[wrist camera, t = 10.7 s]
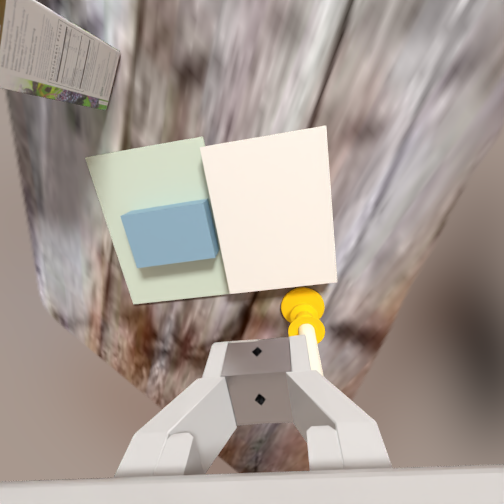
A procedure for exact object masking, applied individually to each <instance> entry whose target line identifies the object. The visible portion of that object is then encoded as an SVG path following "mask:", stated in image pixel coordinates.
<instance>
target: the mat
mask: <svg viewBox="0 0 504 504" xmlns="http://www.w3.org/2000/svg"><path fill="white" fill-rule="evenodd" d="M200 147H205V143H204V138H203V137H197V138H192V139H186V140H180V141H175V142H169V143H163V144H158V145H152V146H146V147H141V148H135V149H130V150H124V151H118V152H113V153H107V154H101V155H96V156H90V157H85V160H86V163H87V166H88V169H89V172H90V175H91V178H92V181H93V184H94V187H95V190H96V193H97V196H98V199H99V202H100V205H101V208H102V211H103V214H104V217H105V220H106V223H107V226H108V229H109V232H110V235H111V238H112V241H113V244H114V247H115V250H116V253H117V256H118V259H119V262H120V265H121V268H122V271H123V274H124V277H125V280H126V283H127V286H128V289H129V292H130V295H131V298H132V301H133V304H141V303H151V302H160V301H169V300H178V299H187V298H196V297H205V296H215V295H224V294H230V291H229V287H228V282H227V277H226V272H225V267H224V262H223V258H222V253H221V248H220V243H219V238H218V233H217V229H216V224H215V219H214V214H213V209H212V204H211V200H210V195H209V190H208V185H207V180H206V175H205V171H204V166H203V161H202V156H201V151H200ZM202 199H208V200H209V205H210V209H211V214H212V218H213V223H214V227H215V232H216V237H217V241H218V246H219V252H218V254H217V256H216V258H210V259H203V260H195V261H188V262H180V263H173V264H165V265H158V266H150V267H143V268H137V267H136V263H135V260H134V257H133V254H132V251H131V248H130V245H129V242H128V239H127V236H126V232H125V229H124V226H123V223H122V220H121V217H120V216H121V215H123V214H125V213H128V212H130V211H133V210H139V209H145V208H152V207H158V206H164V205H170V204H177V203H183V202H189V201H195V200H202Z"/></svg>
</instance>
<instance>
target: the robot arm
mask: <svg viewBox="0 0 504 504" xmlns="http://www.w3.org/2000/svg"><path fill="white" fill-rule="evenodd" d="M262 423H294V425H295V426H296V428H297V429H298V431H299V432H300V433H301V435H302V436H303V438H304V439H305V441H306V442H307V443H308V454H309V465H310V471H290V472H262V473H233V474H205V473H206V472H207V470H208V469H209V468H210V466H211V465H212V463H213V461H214V460H215V459H216V457H217V456H218V454H219V453H220V451H221V450H222V448H223V447H224V446H225V444H226V443H227V441H228V440H229V438H230V437H231V435H232V434H233V432H234V431H235V429H236V428H237V426H238V425H250V424H262ZM0 504H504V464H495V465H494V464H493V465H465V466H440V467H439V466H437V467H411V468H392V465H391V462H390V460H389V457H388V454H387V451H386V449H385V446H384V443H383V440H382V437H381V435H380V432H379V429H378V426H377V423H376V421H374V420H373V419H372V418H371V417H370V416H369V415H368V414H366V413H365V412H364V411H363V410H362V409H361V408H359V407H358V406H357V405H356V404H355V403H354V402H352V401H351V400H350V399H349V398H348V397H347V396H346V395H344V394H343V393H342V392H341V391H340V390H339V389H337V388H336V387H335V386H334V385H333V384H332V383H330V382H329V381H328V380H327V379H326V378H325V377H324V376H322V375H321V374H320V373H319V372H318V371H317V370H311V366H310V360H309V353H308V347H307V341H306V336H305V334H304V335H296V336H290V337H282V338H272V339H261V340H259V339H258V340H243V341H229V342H217V343H214V344H213V345H212V347H211V350H210V354H209V357H208V360H207V363H206V367H205V370H204V373H203V376H202V378H201V379H197V380H195V381H194V382H193V383H192V384H191V385H190V386H189V387H187V388H186V389H185V390H184V391H183V392H182V393H181V394H180V395H178V396H177V397H176V398H175V399H174V400H173V401H172V402H170V403H169V404H168V405H167V406H166V407H165V408H164V409H162V410H161V411H160V412H159V413H158V414H157V415H156V416H155V417H153V418H152V419H151V420H150V421H149V422H148V423H146V424H145V425H144V426H143V427H142V428H141V429H140V430H138V431H137V432H136V433H135V434H134V436H133V438H132V440H131V442H130V444H129V446H128V448H127V451H126V453H125V455H124V457H123V459H122V461H121V463H120V465H119V467H118V469H117V471H116V474H115V476H114V478H91V479H62V480H33V481H5V482H0Z"/></svg>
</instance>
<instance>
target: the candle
mask: <svg viewBox="0 0 504 504" xmlns="http://www.w3.org/2000/svg"><path fill="white" fill-rule="evenodd" d="M281 310H282V314H283V316H284V318H285V319H286V320H287V321H288V322H290V323H291V324H290V326H289V329H288V334H289V337H290V336H296V335H304V334H305V336H306V341H307V347H308V353H309V360H310V366H311V370H317V371H318V372H319V373H320V374H321V375H322V376H323V371H322V366H321V361H320V356H319V350H318V345H317V344H318V343H319V342H320V341H321V340H322V339H323V337H324V335H325V328H324V325H323V323H322V322H321V321H320V320H319V319H320V318H321V317H322V315H323V313H324V302H323V299H322V297H321V296H320V295H319V293H318V292H316V291H315V290H313V289H310V288H305V287H301V288H295V289H293V290H291V291H289V292H288V293H287V294H286V295H285V296H284V298H283V300H282V303H281Z"/></svg>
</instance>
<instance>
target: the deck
mask: <svg viewBox="0 0 504 504" xmlns="http://www.w3.org/2000/svg"><path fill="white" fill-rule="evenodd" d="M200 151H201V156H202V161H203V166H204V171H205V175H206V180H207V185H208V190H209V195H210V200H211V204H212V209H213V214H214V219H215V224H216V229H217V233H218V238H219V243H220V248H221V253H222V258H223V262H224V267H225V272H226V277H227V282H228V287H229V291H230V294H235V293H244V292H253V291H262V290H271V289H280V288H290V287H299V286H308V285H317V284H326V283H335V282H337V271H336V257H335V243H334V229H333V215H332V201H331V187H330V173H329V159H328V145H327V131H326V126H321V127H315V128H309V129H303V130H297V131H292V132H286V133H280V134H274V135H269V136H263V137H257V138H251V139H245V140H240V141H234V142H228V143H222V144H216V145H211V146H205V147H200Z"/></svg>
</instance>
